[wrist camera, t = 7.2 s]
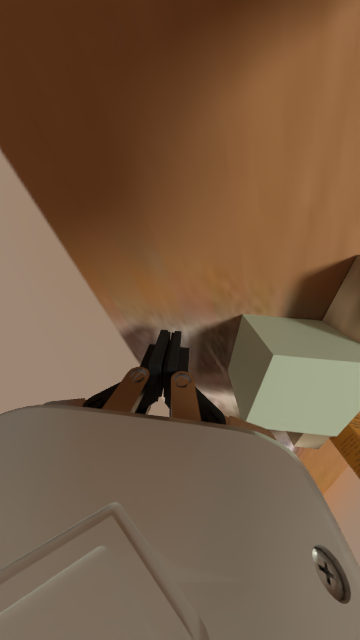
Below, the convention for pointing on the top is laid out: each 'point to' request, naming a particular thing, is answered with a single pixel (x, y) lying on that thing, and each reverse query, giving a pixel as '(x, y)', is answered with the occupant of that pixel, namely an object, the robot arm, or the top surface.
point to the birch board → (348, 318)
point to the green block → (295, 375)
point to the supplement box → (350, 443)
